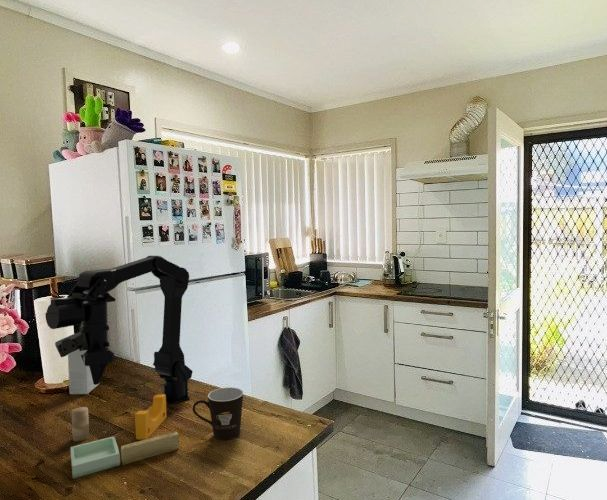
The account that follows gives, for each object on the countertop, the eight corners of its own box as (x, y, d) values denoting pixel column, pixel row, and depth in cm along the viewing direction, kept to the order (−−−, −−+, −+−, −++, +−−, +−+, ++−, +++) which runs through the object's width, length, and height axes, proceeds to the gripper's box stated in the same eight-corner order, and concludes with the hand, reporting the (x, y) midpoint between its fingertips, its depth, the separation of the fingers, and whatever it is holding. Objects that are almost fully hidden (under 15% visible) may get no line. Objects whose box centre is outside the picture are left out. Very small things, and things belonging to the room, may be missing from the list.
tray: (114, 446, 98) (114, 436, 98) (120, 464, 90) (119, 453, 90) (71, 458, 93) (70, 447, 93) (72, 478, 86) (72, 466, 86)
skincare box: (82, 385, 138) (80, 341, 138) (100, 384, 138) (98, 340, 138) (68, 395, 130) (66, 348, 129) (88, 394, 130) (85, 347, 129)
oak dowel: (88, 432, 105) (87, 405, 105) (89, 438, 102) (88, 410, 102) (72, 436, 103) (71, 409, 103) (73, 442, 100) (71, 414, 100)
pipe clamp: (151, 417, 114) (150, 394, 113) (166, 417, 113) (165, 394, 113) (129, 439, 102) (127, 413, 101) (146, 440, 101) (145, 414, 101)
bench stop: (177, 445, 98) (176, 431, 98) (178, 448, 96) (178, 434, 96) (121, 461, 92) (121, 446, 91) (122, 464, 90) (122, 449, 90)
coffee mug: (250, 428, 106) (249, 389, 105) (234, 444, 98) (232, 403, 97) (210, 422, 110) (209, 384, 109) (191, 437, 102) (190, 397, 101)
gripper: (55, 319, 107) (57, 379, 107) (58, 332, 91) (60, 403, 91) (103, 314, 113) (104, 372, 113) (114, 326, 97) (115, 393, 97)
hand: (96, 384), depth 104 cm, fingers closed
